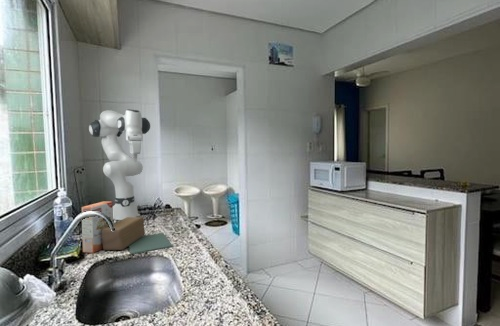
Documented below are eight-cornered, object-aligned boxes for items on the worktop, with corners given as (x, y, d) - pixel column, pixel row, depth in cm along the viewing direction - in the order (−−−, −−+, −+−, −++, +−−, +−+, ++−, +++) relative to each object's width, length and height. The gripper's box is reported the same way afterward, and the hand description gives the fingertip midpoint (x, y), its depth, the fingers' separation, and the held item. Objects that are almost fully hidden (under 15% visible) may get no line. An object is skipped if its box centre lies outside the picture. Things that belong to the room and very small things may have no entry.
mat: (126, 239, 135) (126, 238, 135) (163, 233, 144) (162, 232, 144) (130, 254, 116) (130, 253, 116) (172, 246, 125) (172, 245, 125)
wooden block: (145, 234, 139) (122, 250, 119) (128, 235, 140) (102, 250, 121) (143, 216, 138) (120, 229, 119) (126, 216, 140) (99, 229, 120)
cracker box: (94, 253, 118) (92, 207, 116) (82, 252, 118) (80, 206, 117) (115, 242, 131) (113, 201, 130) (104, 242, 132) (102, 200, 131)
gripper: (126, 138, 159) (127, 161, 160) (129, 136, 141) (130, 162, 142) (138, 138, 162) (138, 161, 163) (142, 137, 144) (143, 162, 145)
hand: (135, 161), depth 152 cm, fingers closed
